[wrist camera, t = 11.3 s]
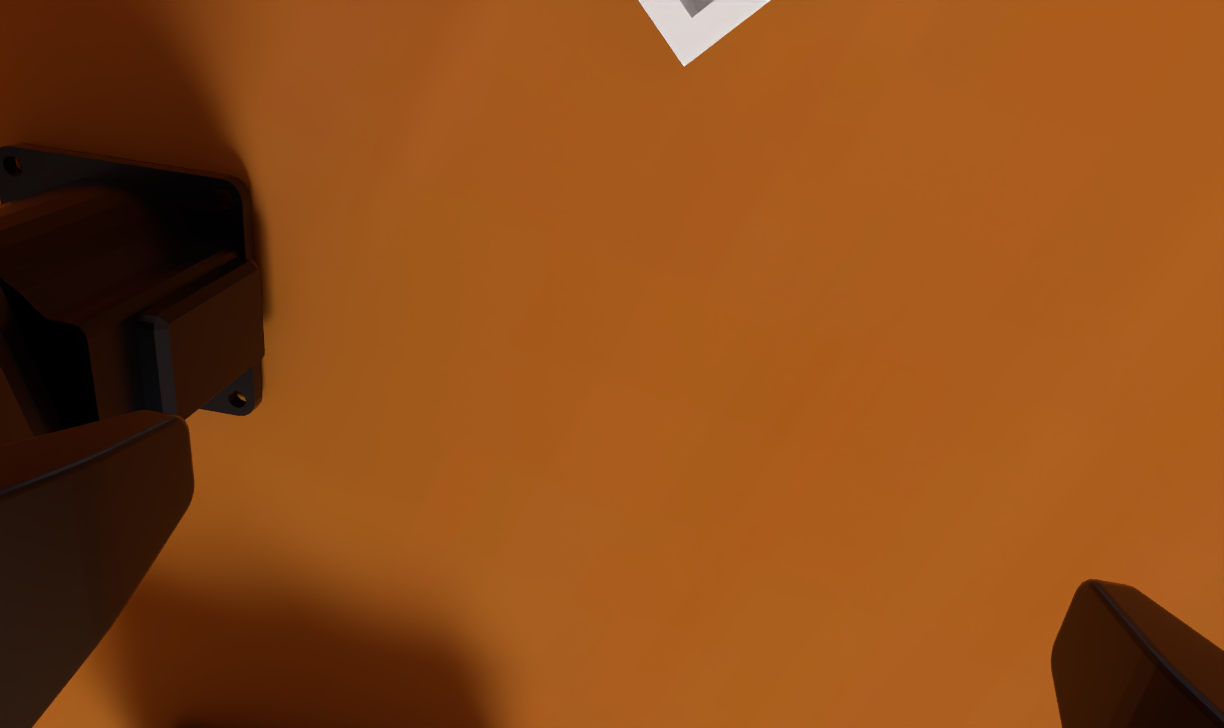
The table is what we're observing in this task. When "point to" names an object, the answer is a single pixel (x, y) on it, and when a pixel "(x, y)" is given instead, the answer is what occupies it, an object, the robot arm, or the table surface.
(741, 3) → the white compartment tray
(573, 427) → the table surface
